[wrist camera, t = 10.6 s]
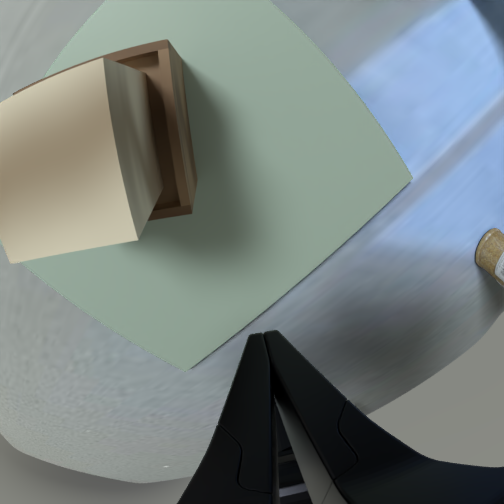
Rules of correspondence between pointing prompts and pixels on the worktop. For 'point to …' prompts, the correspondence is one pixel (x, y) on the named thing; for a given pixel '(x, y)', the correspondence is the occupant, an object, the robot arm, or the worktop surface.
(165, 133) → the walnut socket block
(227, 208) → the board
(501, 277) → the sprinkles bottle
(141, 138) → the ash block
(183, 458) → the worktop surface
